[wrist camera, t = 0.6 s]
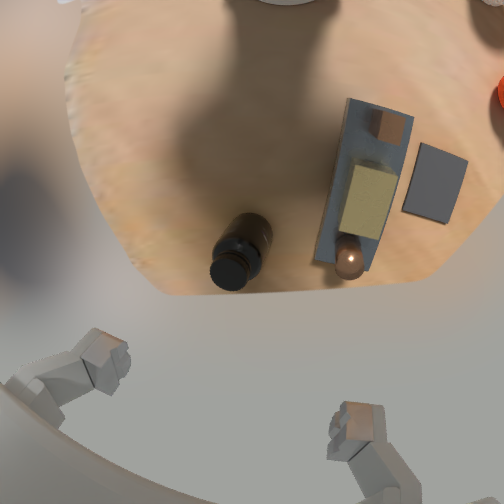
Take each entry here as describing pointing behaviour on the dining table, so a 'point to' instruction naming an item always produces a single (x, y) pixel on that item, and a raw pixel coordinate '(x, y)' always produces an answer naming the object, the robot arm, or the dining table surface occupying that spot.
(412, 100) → the dining table surface
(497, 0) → the white cup
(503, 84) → the clementine
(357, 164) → the lever cap
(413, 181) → the mat
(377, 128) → the body
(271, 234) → the supplement bottle
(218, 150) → the dining table surface
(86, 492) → the robot arm
